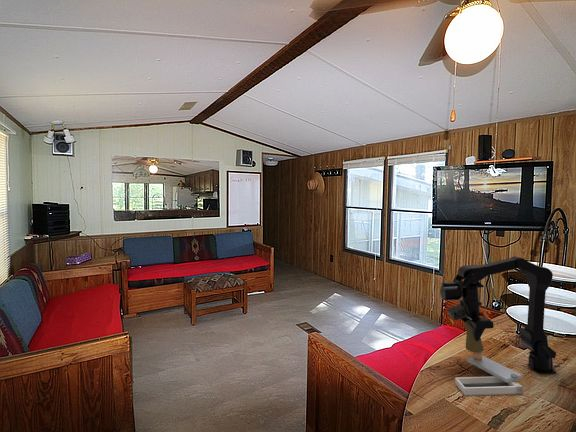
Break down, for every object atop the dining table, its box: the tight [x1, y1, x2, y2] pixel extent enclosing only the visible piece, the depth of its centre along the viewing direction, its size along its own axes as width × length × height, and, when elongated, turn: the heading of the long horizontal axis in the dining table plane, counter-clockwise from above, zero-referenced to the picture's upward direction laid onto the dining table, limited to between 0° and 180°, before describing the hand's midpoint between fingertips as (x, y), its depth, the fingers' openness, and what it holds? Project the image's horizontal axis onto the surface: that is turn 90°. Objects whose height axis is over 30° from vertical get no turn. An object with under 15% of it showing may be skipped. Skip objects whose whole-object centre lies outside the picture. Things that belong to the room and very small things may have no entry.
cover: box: [465, 351, 523, 383], centre depth 118 cm, size 18×7×4 cm, turn 16°
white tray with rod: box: [454, 375, 524, 397], centre depth 111 cm, size 19×7×2 cm, turn 86°
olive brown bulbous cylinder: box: [464, 320, 484, 353], centre depth 123 cm, size 6×6×11 cm
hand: (473, 338), depth 123 cm, fingers closed on olive brown bulbous cylinder, 4 cm apart
